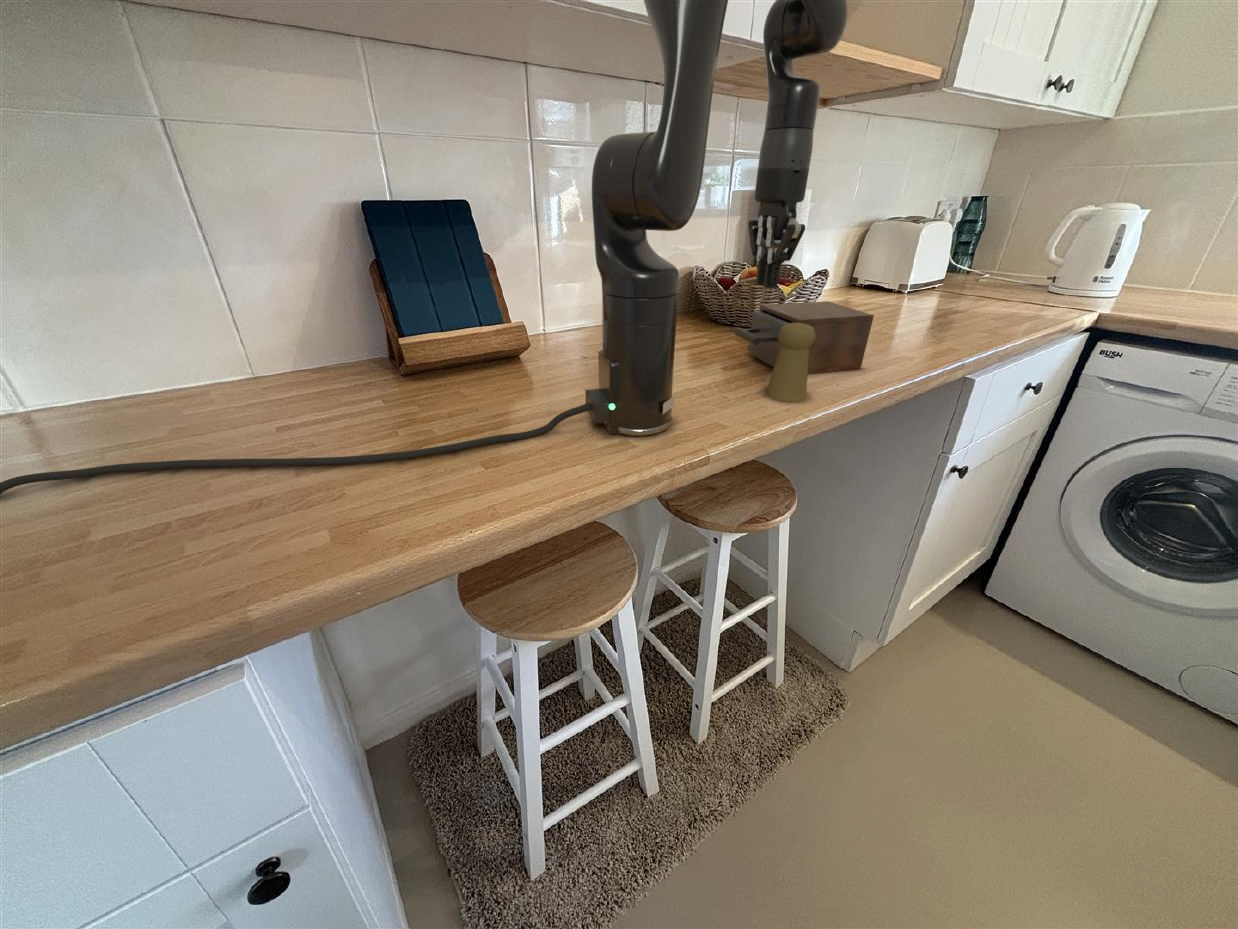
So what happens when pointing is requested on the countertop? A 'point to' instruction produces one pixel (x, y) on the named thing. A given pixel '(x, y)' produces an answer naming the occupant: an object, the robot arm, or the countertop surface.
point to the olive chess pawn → (791, 363)
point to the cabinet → (829, 333)
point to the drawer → (763, 336)
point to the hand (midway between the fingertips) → (766, 285)
